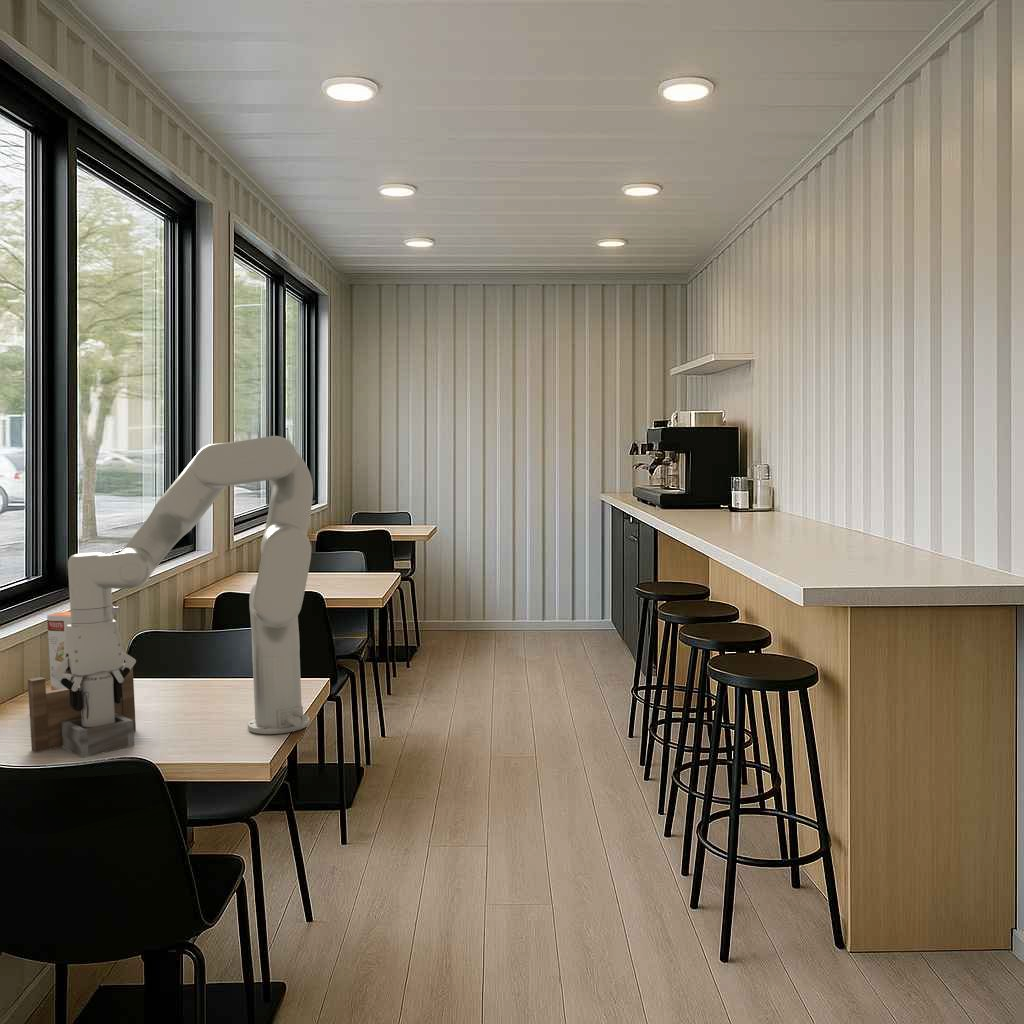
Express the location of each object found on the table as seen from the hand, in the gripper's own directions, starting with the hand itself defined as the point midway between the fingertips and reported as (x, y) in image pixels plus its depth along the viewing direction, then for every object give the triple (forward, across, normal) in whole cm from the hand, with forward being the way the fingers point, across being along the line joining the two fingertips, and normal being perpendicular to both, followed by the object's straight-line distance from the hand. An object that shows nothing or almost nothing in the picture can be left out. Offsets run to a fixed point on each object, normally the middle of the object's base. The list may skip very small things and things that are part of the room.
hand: (96, 705), depth 187 cm
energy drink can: (+8, 0, 0) cm, 8 cm away
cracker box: (+8, -12, -40) cm, 43 cm away
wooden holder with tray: (+8, 0, -1) cm, 8 cm away
